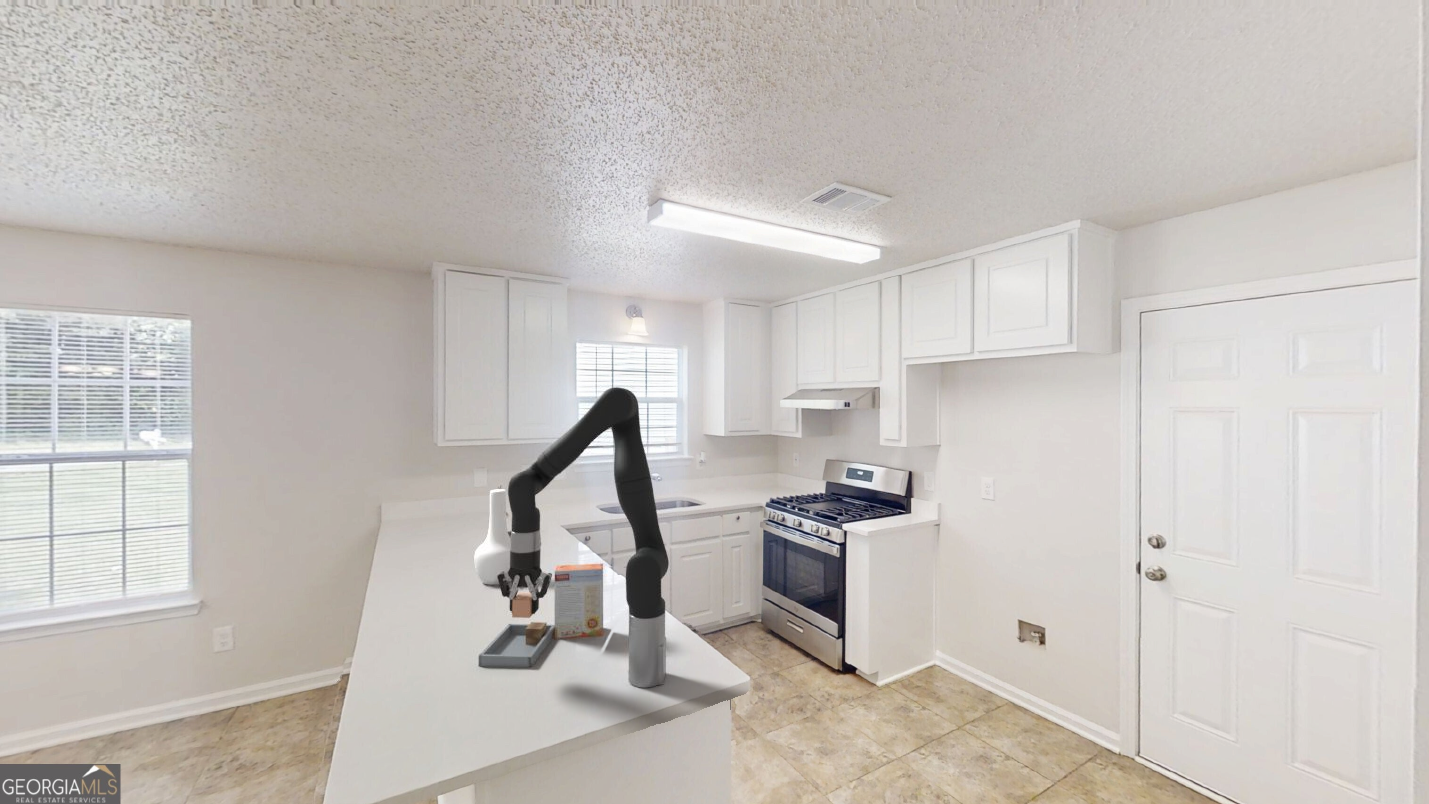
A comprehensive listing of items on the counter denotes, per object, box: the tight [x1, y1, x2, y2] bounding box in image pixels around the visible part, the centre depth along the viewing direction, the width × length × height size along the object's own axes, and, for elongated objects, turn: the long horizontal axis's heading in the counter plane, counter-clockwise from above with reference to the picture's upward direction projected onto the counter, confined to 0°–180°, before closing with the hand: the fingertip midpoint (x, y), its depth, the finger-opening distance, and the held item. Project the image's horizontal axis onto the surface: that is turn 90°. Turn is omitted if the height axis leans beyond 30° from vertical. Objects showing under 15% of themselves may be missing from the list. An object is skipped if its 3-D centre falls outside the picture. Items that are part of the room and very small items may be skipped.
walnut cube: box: [526, 621, 547, 645], centre depth 158 cm, size 4×4×4 cm
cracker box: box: [554, 563, 604, 639], centre depth 164 cm, size 14×6×21 cm, turn 99°
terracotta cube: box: [511, 592, 534, 619], centre depth 142 cm, size 4×4×4 cm
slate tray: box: [478, 623, 555, 668], centre depth 154 cm, size 14×20×4 cm
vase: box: [473, 488, 512, 586], centre depth 212 cm, size 17×17×35 cm
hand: (524, 612), depth 142 cm, fingers closed on terracotta cube, 4 cm apart
